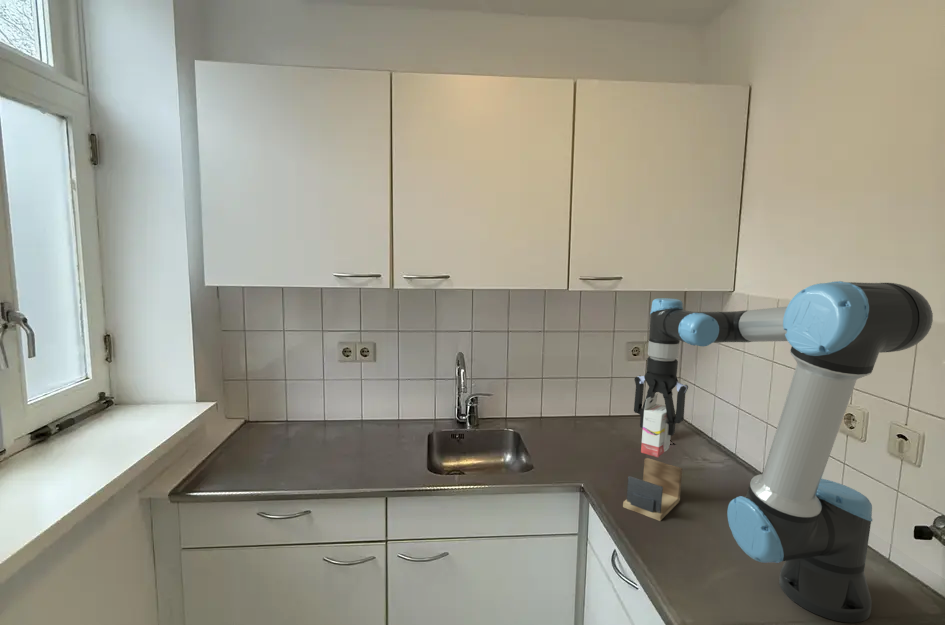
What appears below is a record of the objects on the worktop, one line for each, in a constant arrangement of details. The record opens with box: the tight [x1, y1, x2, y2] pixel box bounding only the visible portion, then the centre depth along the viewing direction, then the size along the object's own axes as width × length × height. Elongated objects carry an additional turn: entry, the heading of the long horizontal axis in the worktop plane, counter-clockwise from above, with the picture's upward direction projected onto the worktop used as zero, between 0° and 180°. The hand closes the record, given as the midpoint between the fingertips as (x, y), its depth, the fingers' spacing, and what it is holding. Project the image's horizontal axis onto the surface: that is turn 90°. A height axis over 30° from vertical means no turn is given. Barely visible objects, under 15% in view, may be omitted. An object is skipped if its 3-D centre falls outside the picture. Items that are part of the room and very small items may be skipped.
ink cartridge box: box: [640, 393, 670, 458], centre depth 134 cm, size 9×5×15 cm, turn 140°
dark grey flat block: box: [626, 475, 663, 513], centre depth 131 cm, size 9×2×7 cm, turn 49°
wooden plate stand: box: [622, 457, 683, 522], centre depth 136 cm, size 10×14×10 cm
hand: (655, 442), depth 135 cm, fingers closed on ink cartridge box, 5 cm apart
